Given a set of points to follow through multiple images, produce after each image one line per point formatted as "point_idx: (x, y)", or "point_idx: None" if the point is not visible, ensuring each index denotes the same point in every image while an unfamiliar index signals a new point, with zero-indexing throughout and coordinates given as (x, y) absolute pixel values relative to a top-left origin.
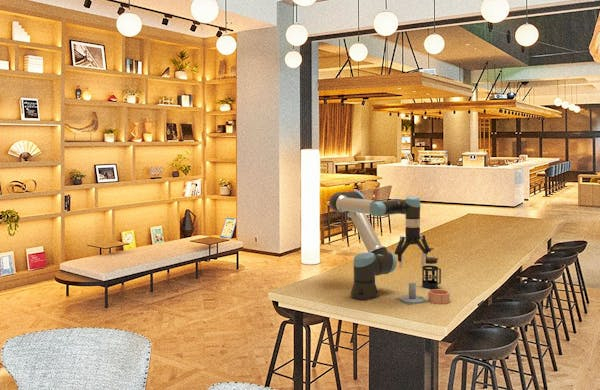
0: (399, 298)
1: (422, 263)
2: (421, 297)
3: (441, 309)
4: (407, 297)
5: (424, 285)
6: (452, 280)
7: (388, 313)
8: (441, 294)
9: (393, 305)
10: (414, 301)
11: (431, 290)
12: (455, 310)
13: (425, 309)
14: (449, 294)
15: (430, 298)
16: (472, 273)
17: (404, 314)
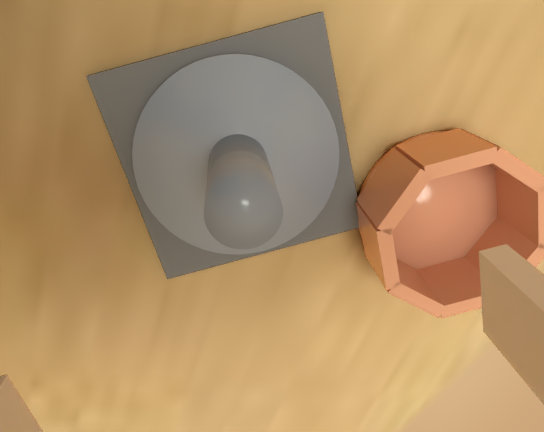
0: (138, 91)
1: (499, 303)
2: (324, 149)
3: (362, 358)
4: (203, 132)
5: None
6: None
7: None
8: (441, 313)
9: (60, 250)
10: (228, 251)
11: (427, 182)
12: (432, 379)
13: (265, 351)
14: None
15: (366, 237)
16: None
17: (107, 424)
